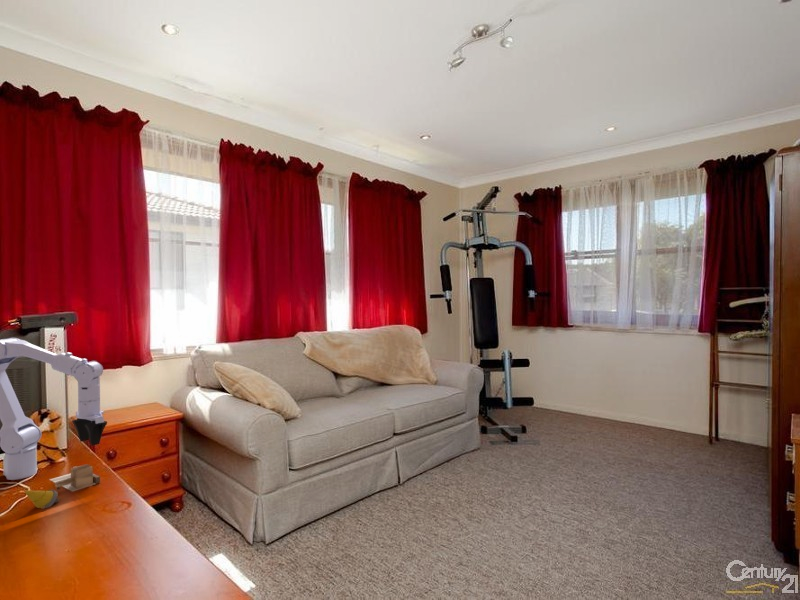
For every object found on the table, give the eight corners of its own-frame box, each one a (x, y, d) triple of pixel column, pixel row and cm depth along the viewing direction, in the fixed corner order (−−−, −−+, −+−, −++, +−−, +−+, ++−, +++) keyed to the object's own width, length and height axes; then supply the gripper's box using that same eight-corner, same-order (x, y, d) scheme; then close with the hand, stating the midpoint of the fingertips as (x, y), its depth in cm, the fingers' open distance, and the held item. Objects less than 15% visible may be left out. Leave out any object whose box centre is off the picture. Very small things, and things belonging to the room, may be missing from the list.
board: (49, 483, 132) (49, 473, 132) (76, 475, 138) (76, 466, 138) (72, 495, 123) (72, 485, 123) (100, 486, 129) (100, 476, 129)
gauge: (53, 491, 124) (52, 473, 124) (86, 480, 131) (86, 464, 131) (59, 494, 121) (58, 476, 121) (92, 483, 128) (92, 466, 128)
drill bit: (62, 510, 115) (29, 495, 109) (44, 519, 116) (10, 504, 109) (69, 491, 120) (37, 476, 113) (51, 500, 120) (18, 485, 113)
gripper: (113, 400, 139) (114, 442, 139) (92, 395, 147) (93, 435, 147) (88, 404, 133) (89, 449, 133) (68, 399, 141) (68, 441, 141)
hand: (89, 442), depth 139 cm, fingers open, 7 cm apart
